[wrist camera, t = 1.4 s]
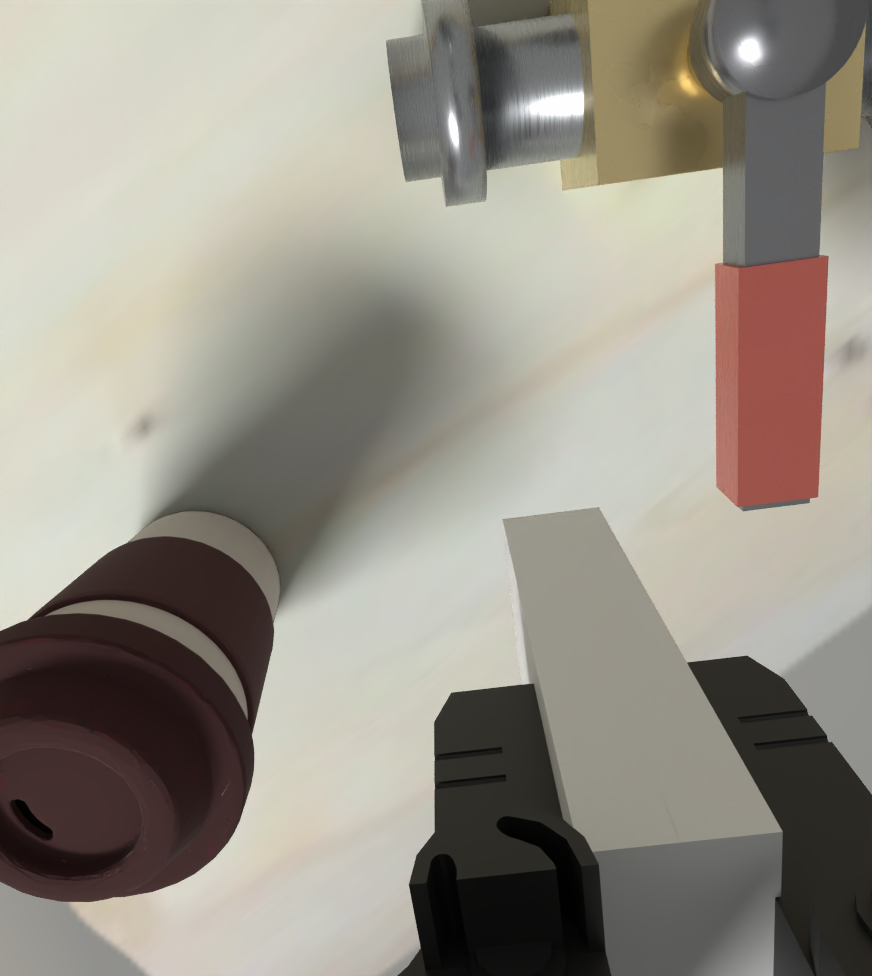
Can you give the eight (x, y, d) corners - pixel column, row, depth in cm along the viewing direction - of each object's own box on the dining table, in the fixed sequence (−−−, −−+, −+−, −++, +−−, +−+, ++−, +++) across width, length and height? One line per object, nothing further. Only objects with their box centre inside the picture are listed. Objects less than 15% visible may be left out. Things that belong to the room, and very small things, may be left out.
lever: (687, -34, 20) (717, -62, 18) (826, -55, 20) (873, -86, 18) (696, 492, 25) (720, 518, 23) (807, 478, 25) (841, 503, 23)
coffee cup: (310, 485, 34) (225, 678, 20) (310, 673, 38) (237, 950, 24) (88, 473, 34) (-155, 660, 20) (108, 663, 37) (-88, 938, 23)
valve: (412, 211, 30) (405, 212, 22) (387, 29, 28) (369, -45, 20) (923, 139, 29) (1109, 112, 21) (938, -55, 27) (1152, -167, 19)
